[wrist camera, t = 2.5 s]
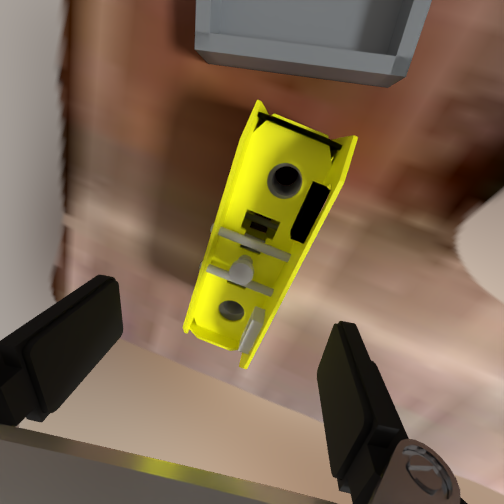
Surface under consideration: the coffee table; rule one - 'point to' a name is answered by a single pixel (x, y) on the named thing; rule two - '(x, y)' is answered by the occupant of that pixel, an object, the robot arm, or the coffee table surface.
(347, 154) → the yellow toy chassis
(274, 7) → the tray
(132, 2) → the coffee table surface
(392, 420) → the robot arm
